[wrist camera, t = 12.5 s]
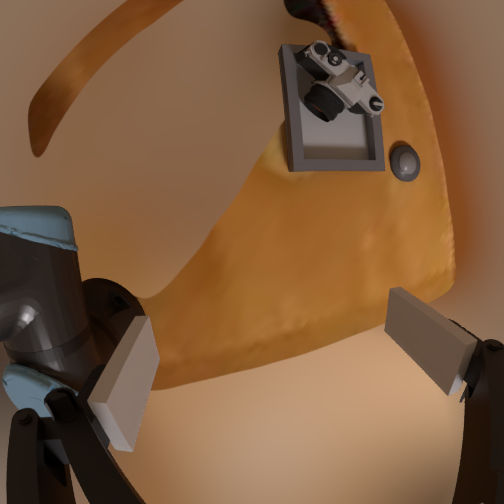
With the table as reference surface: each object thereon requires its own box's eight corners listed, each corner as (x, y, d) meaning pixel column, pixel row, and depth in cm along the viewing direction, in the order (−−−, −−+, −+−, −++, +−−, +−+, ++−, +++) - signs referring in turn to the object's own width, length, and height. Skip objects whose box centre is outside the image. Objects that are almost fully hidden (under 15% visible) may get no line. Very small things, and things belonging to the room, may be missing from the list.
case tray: (289, 171, 38) (294, 170, 35) (278, 52, 34) (281, 44, 31) (375, 171, 39) (385, 171, 36) (361, 61, 35) (369, 54, 32)
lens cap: (389, 181, 40) (394, 181, 39) (387, 144, 39) (392, 143, 37) (417, 181, 41) (422, 181, 39) (414, 147, 39) (419, 146, 38)
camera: (269, 81, 33) (289, 75, 25) (301, 44, 31) (328, 31, 23) (335, 136, 39) (367, 147, 31) (363, 101, 36) (398, 105, 28)
